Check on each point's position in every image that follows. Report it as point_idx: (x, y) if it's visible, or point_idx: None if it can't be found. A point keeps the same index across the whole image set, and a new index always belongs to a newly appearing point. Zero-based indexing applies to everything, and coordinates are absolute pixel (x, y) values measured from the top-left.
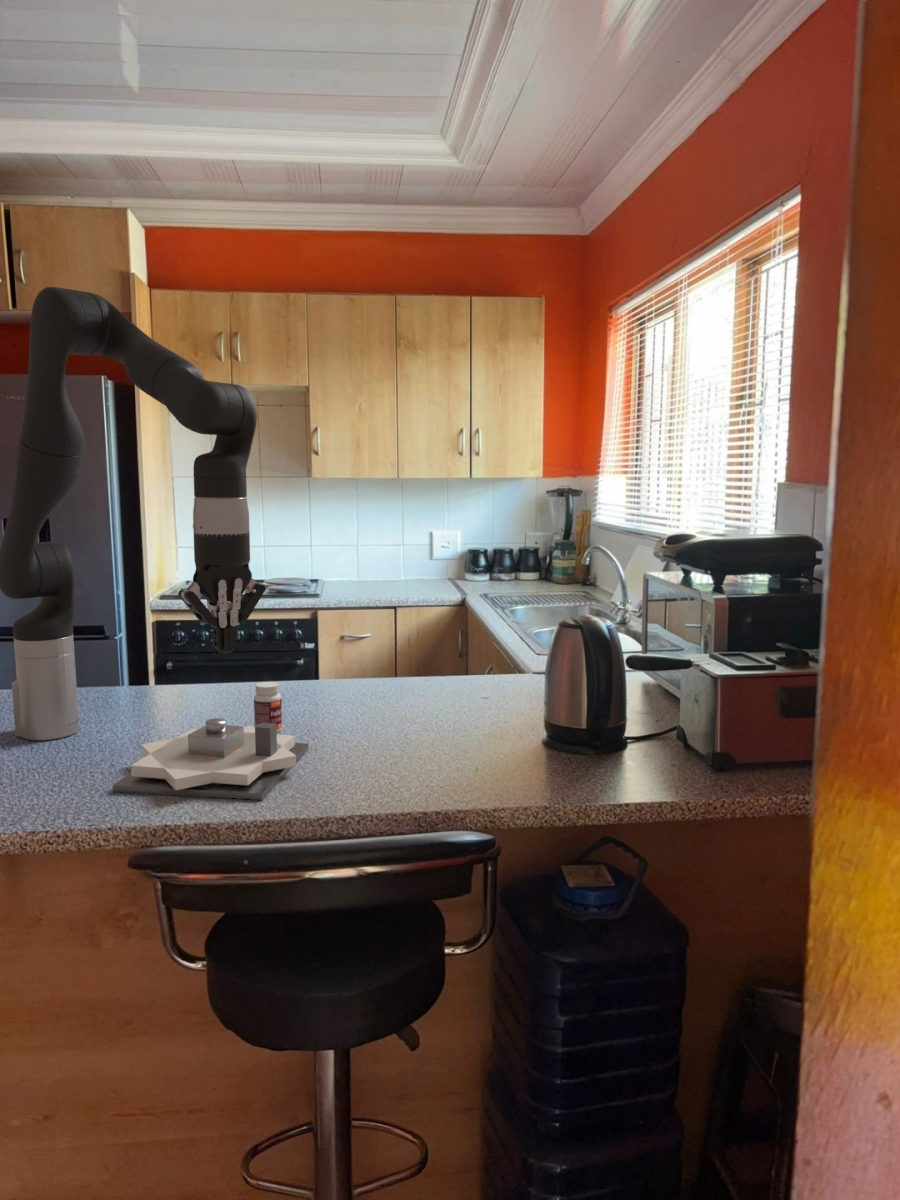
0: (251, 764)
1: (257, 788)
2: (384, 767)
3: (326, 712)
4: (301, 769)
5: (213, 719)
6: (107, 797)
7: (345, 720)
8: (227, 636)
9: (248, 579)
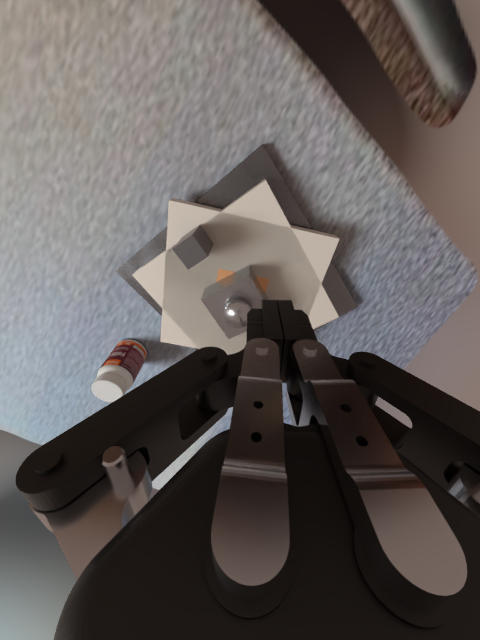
0: (238, 214)
1: (255, 168)
2: (49, 120)
3: (46, 358)
4: (160, 211)
5: (235, 324)
6: (368, 294)
7: (34, 323)
8: (284, 322)
9: (121, 559)
